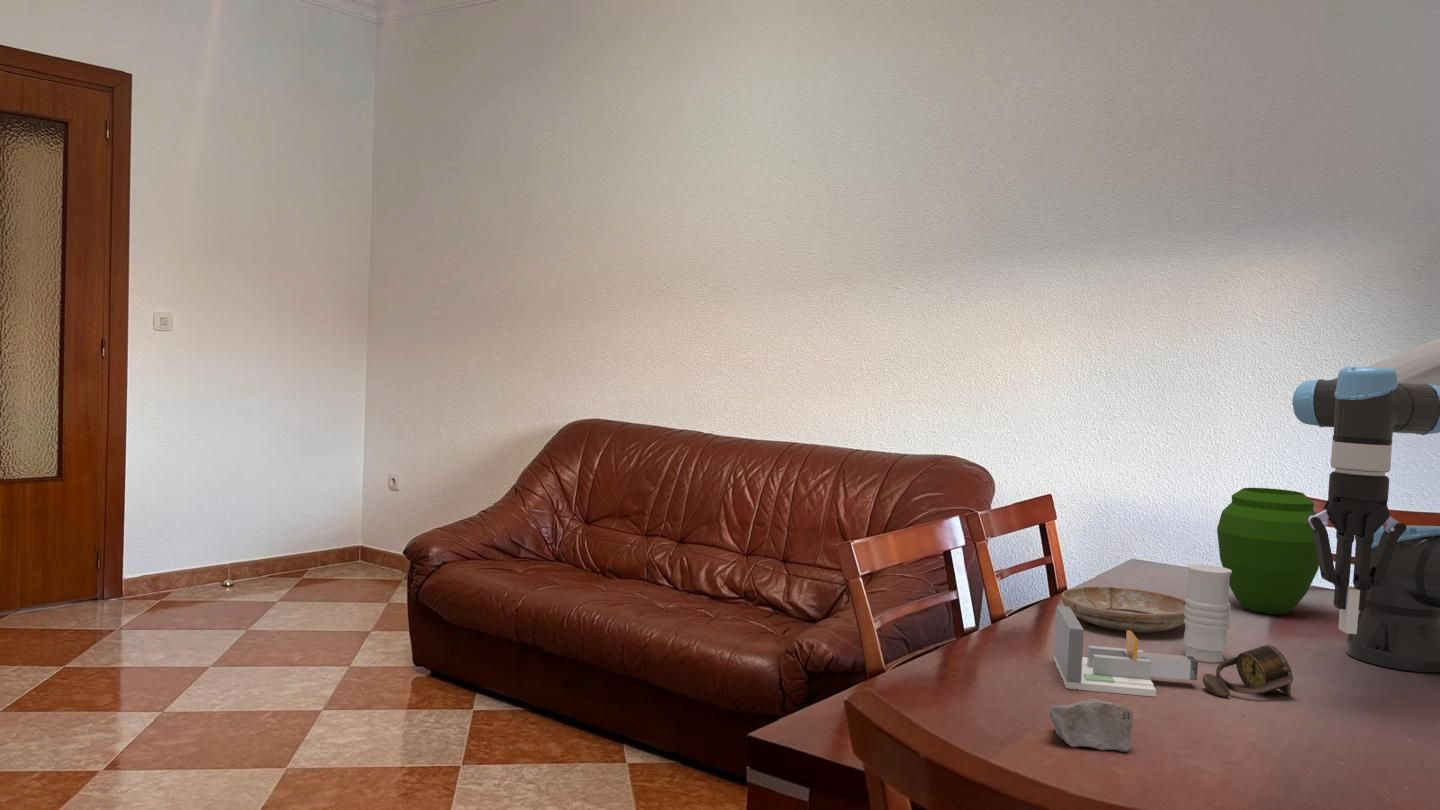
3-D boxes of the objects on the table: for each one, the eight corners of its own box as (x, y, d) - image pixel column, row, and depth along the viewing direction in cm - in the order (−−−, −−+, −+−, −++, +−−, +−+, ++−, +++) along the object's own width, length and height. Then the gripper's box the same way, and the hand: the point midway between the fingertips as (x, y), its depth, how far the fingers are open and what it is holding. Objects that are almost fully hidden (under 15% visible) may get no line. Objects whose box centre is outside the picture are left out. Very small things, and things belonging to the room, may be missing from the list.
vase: (1323, 609, 216) (1330, 491, 215) (1317, 628, 199) (1326, 500, 198) (1219, 595, 226) (1225, 482, 225) (1205, 611, 210) (1213, 490, 209)
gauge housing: (1135, 667, 168) (1138, 612, 167) (1155, 696, 153) (1159, 635, 153) (1053, 660, 170) (1056, 605, 170) (1066, 688, 155) (1069, 628, 155)
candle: (1234, 664, 172) (1240, 573, 171) (1191, 662, 172) (1196, 571, 172) (1217, 652, 179) (1222, 565, 178) (1175, 650, 179) (1180, 563, 178)
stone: (1051, 725, 139) (1054, 682, 139) (1131, 739, 135) (1134, 695, 135) (1045, 744, 132) (1049, 699, 132) (1129, 760, 128) (1133, 713, 128)
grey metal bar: (1191, 674, 160) (1194, 635, 160) (1201, 685, 155) (1204, 645, 154) (1122, 668, 162) (1125, 629, 162) (1130, 679, 157) (1132, 639, 156)
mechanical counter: (1311, 671, 150) (1286, 638, 160) (1219, 656, 152) (1199, 625, 162) (1299, 715, 152) (1274, 680, 162) (1207, 700, 154) (1189, 666, 164)
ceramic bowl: (1162, 612, 208) (1164, 587, 208) (1215, 644, 185) (1216, 616, 185) (1045, 607, 209) (1046, 582, 209) (1082, 638, 185) (1084, 610, 185)
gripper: (1397, 473, 156) (1384, 629, 157) (1302, 466, 158) (1290, 621, 159) (1420, 477, 149) (1407, 642, 150) (1320, 471, 151) (1308, 633, 152)
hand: (1347, 631), depth 154 cm, fingers closed
